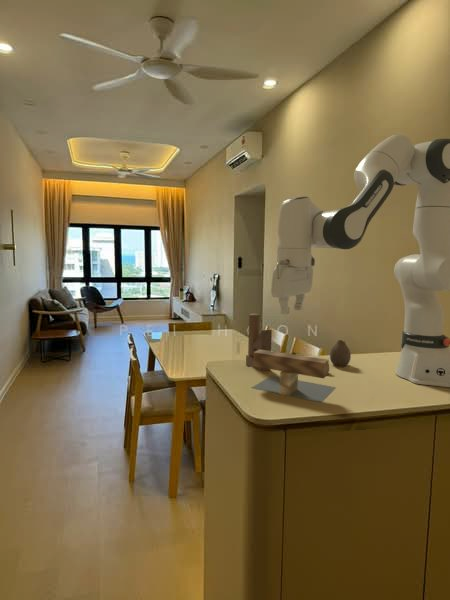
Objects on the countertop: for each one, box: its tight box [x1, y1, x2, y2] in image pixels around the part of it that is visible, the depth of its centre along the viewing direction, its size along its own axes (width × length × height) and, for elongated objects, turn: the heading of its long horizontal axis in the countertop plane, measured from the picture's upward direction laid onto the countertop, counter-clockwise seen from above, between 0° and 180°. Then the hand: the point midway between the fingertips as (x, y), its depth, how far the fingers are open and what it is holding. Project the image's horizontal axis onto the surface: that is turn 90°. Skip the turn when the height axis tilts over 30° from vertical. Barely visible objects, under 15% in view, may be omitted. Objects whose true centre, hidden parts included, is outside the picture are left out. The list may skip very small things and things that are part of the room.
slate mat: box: [251, 375, 337, 404], centre depth 112 cm, size 20×14×1 cm
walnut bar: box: [253, 350, 330, 379], centre depth 107 cm, size 20×4×4 cm, turn 60°
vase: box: [329, 339, 352, 368], centre depth 138 cm, size 7×7×9 cm
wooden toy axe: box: [245, 313, 273, 372], centre depth 131 cm, size 4×11×18 cm, turn 25°
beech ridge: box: [279, 371, 299, 397], centre depth 108 cm, size 3×6×6 cm, turn 149°
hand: (291, 311), depth 106 cm, fingers open, 8 cm apart
